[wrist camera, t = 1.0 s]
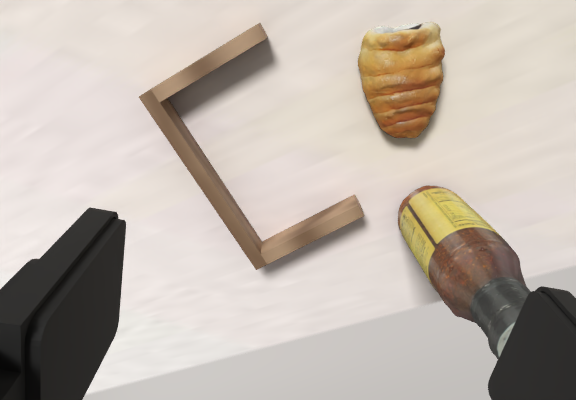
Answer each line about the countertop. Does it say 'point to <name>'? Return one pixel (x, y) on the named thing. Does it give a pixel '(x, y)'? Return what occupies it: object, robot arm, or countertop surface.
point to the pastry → (402, 76)
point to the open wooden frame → (211, 181)
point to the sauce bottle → (464, 261)
